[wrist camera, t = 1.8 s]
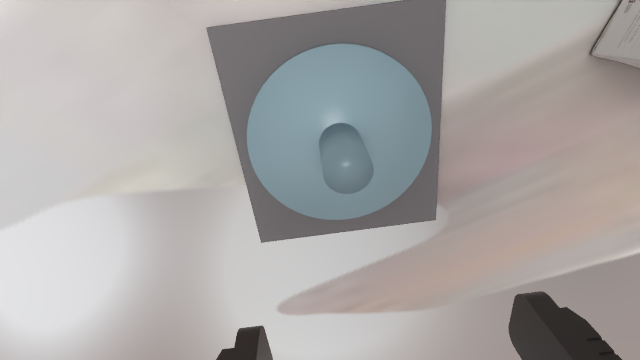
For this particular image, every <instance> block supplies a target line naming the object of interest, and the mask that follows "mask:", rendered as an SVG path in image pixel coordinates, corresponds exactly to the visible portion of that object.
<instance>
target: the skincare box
mask: <svg viewBox="0 0 640 360" xmlns="http://www.w3.org/2000/svg"><path fill="white" fill-rule="evenodd" d="M591 53H592V55H593V56H596V57H599V58H605V59H610V60H614V61H617V62H621V63H624V64H628V65H631V66H634V67H637V68H640V0H622V2H621V4H620V5H619V7H618V9H617V10H616V12H615V13H614V15H613V17H612V18H611V20H610V21H609V23H608V24H607V26H606V28H605V29H604V31H603V33H602V34H601V36H600V38H599V39H598V41H597V43H596V45H595V46H594V48H593V50H592V52H591Z"/></svg>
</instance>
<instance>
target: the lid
mask: <svg viewBox="0 0 640 360" xmlns="http://www.w3.org/2000/svg"><path fill="white" fill-rule="evenodd" d="M431 134H432V123H431V114H430V109H429V105H428V102H427V99H426V97H425V95H424V93H423V91H422V89H421V87H420V85H419V84H418V82H417V81H416V79H415V78H414V77H413V75H412V74H411V73H410V72H409V71H408V70H407V69H406V68H405V67H404V66H403V65H401V64H400V63H399V62H397V61H396V60H395V59H393V58H391V57H390V56H388V55H386V54H384V53H382V52H381V51H378V50H376V49H373V48H370V47H368V46H363V45H359V44H351V43H332V44H325V45H320V46H316V47H313V48H310V49H307V50H305V51H302V52H300V53H299V54H297V55H295V56H293V57H291V58H290V59H288V60H287V61H286V62H284V63H283V64H281V65H280V66H279V67H278V68H277V69H276V70H275V71H274V72H273V73H272V74H271V75H270V76H269V78H268V79H267V80H266V81H265V83H264V84H263V86H262V88H261V89H260V91H259V93H258V94H257V96H256V99H255V101H254V103H253V106H252V108H251V112H250V115H249V119H248V126H247V147H248V153H249V157H250V160H251V163H252V166H253V169H254V171H255V173H256V175H257V177H258V178H259V180H260V181H261V183H262V184H263V186H264V187H265V188H266V189H267V190H268V192H269V193H270V194H271V195H272V196H273V197H275V198H276V199H277V200H278V201H279V202H281V203H282V204H284V205H285V206H286V207H288V208H290V209H292V210H294V211H296V212H298V213H301V214H303V215H306V216H310V217H314V218H318V219H325V220H344V219H352V218H357V217H361V216H364V215H367V214H370V213H373V212H375V211H377V210H379V209H381V208H383V207H385V206H387V205H388V204H390V203H391V202H392V201H394V200H395V199H397V198H398V197H399V196H400V195H401V194H402V193H403V192H405V191H406V189H407V188H408V187H409V186H410V185H411V184H412V183H413V181H414V180H415V178H416V177H417V176H418V174H419V172H420V170H421V169H422V167H423V165H424V163H425V160H426V157H427V155H428V151H429V147H430V143H431Z"/></svg>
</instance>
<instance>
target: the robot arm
mask: <svg viewBox="0 0 640 360" xmlns="http://www.w3.org/2000/svg"><path fill="white" fill-rule="evenodd" d="M509 335H510V338H511V341H512V344H513V346H514V347H515V349H516V351H517V352H518V354H519V355H520V357H521V359H522V360H622V359H621V358H620V357H619V356H618V355H616V354H615V353H614V350H613V349H612V348H611V347H610V346H609V345H608V344H607V343H606V342H605V341H603V340H602V339H601V336H600V335H599V334H598V333H597V332H596V331H595V330H594V328H593V327H591V325H590V324H589V323H588V322H587V321H586V320H585V319H583V318H582V317H580V316H579V315H577V314H576V313H574V312H573V311H571V310H570V309H568V308H567V307H565V308H559V307H558V306H557V305H556V303H555V302H554V301H553V300H552V299H551V297H550V296H549V295H547V294H546V293H545V292H532V293H525V294H518V295H516V296H515V299H514V304H513V308H512V314H511V318H510V323H509ZM216 360H273V358H272V354H271V350H270V347H269V343H268V340H267V337H266V333H265V329H264V327H263V326H255V327H247V328H240V329H239V330H238V332H237V336H236V342H235V347H234V348H231V349H223V350H222V351H221V353H220V354H219V356H218V358H217V359H216Z"/></svg>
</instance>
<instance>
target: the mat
mask: <svg viewBox="0 0 640 360" xmlns="http://www.w3.org/2000/svg"><path fill="white" fill-rule="evenodd" d="M445 10H446V0H403V1H396V2H389V3H382V4H375V5H367V6H360V7H353V8H346V9H338V10H331V11H324V12H317V13H309V14H302V15H295V16H288V17H281V18H273V19H266V20H259V21H252V22H244V23H237V24H230V25H223V26H215V27H208V28H206V29H207V32H208V36H209V40H210V44H211V48H212V52H213V56H214V60H215V64H216V68H217V72H218V75H219V79H220V83H221V87H222V91H223V95H224V99H225V103H226V107H227V111H228V115H229V118H230V122H231V126H232V130H233V134H234V138H235V142H236V146H237V150H238V154H239V158H240V161H241V165H242V169H243V173H244V177H245V181H246V185H247V189H248V193H249V196H250V201H251V204H252V208H253V212H254V216H255V220H256V224H257V228H258V232H259V236H260V239H261V242H269V241H277V240H285V239H293V238H300V237H308V236H315V235H324V234H331V233H339V232H346V231H354V230H362V229H370V228H377V227H385V226H393V225H400V224H408V223H415V222H424V221H431V220H436V206H437V184H438V163H439V141H440V119H441V97H442V76H443V54H444V32H445ZM332 43H351V44H359V45H363V46H368V47H370V48H373V49H376V50H378V51H381V52H382V53H384V54H386V55H388V56H390V57H391V58H393V59H395V60H396V61H397V62H399V63H400V64H401V65H403V66H404V67H405V68H406V69H407V70H408V71H409V72H410V73H411V74H412V75H413V77H414V78H415V79H416V81H417V82H418V84H419V85H420V87H421V89H422V91H423V93H424V95H425V97H426V99H427V102H428V105H429V109H430V114H431V123H432V134H431V143H430V147H429V151H428V155H427V157H426V160H425V163H424V165H423V167H422V169H421V170H420V172H419V174H418V176H417V177H416V178H415V180H414V181H413V183H412V184H411V185H410V186H409V187H408V188H407V189H406V191H405V192H403V193H402V194H401V195H400V196H399V197H398V198H397V199H395V200H394V201H392V202H391V203H390V204H388V205H387V206H385V207H383V208H381V209H379V210H377V211H375V212H373V213H370V214H367V215H364V216H361V217H357V218H352V219H344V220H325V219H318V218H314V217H310V216H306V215H303V214H301V213H298V212H296V211H294V210H292V209H290V208H288V207H286V206H285V205H284V204H282V203H281V202H279V201H278V200H277V199H276V198H275V197H273V196H272V195H271V194H270V193H269V192H268V190H267V189H266V188H265V187H264V186H263V184H262V183H261V181H260V180H259V178H258V177H257V175H256V173H255V171H254V169H253V166H252V163H251V160H250V157H249V153H248V147H247V126H248V119H249V115H250V112H251V108H252V106H253V103H254V101H255V99H256V96H257V94H258V93H259V91H260V89H261V88H262V86H263V84H264V83H265V81H266V80H267V79H268V78H269V76H270V75H271V74H272V73H273V72H274V71H275V70H276V69H277V68H278V67H279V66H280V65H281V64H283V63H284V62H286V61H287V60H288V59H290V58H291V57H293V56H295V55H297V54H299V53H300V52H302V51H305V50H307V49H310V48H313V47H316V46H320V45H325V44H332Z"/></svg>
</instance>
